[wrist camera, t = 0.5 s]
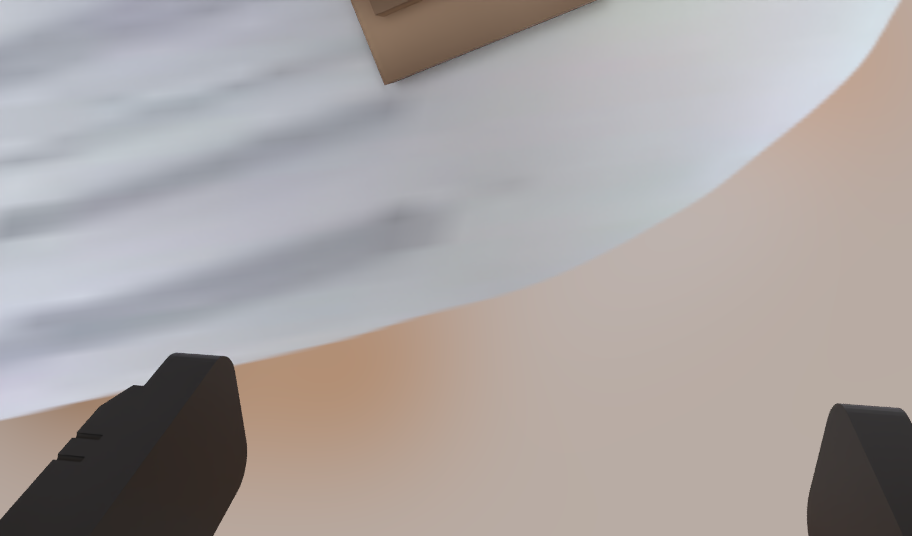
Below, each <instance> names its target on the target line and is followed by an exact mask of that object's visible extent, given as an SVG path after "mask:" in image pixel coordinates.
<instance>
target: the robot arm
mask: <svg viewBox="0 0 912 536" xmlns="http://www.w3.org/2000/svg"><path fill="white" fill-rule="evenodd" d="M246 459H247V443H246V437H245V430H244V425H243V418H242V412H241V405H240V399H239V393H238V387H237V381H236V376H235V370H234V366H233V363H232V361H231V360H230V359H229V358H228V357H226V356H213V355H200V354H186V353H173V354H171V355H170V356H169V357H168V358H167V359H166V360H165V361H164V362H163V364H162V365H161V366H160V367H159V368H158V370H157V371H156V372H155V373H154V374H153V376H152V377H151V378H150V379H149V380H148V382H147V383H146V384H145V385H144V386H137V385H133V386H131V387H130V388H128V389H126V390H125V391H123V392H122V393H120V394H119V395H117V396H115V397H114V398H112V399H111V400H109V401H108V402H106V403H104V404H103V405H101V406H100V407H99V408H98V409H97V410H96V411H95V412H94V414H93V415H92V416H91V417H90V418H89V419H88V420H87V421H86V423H85V424H84V425H83V426H82V427H81V429H80V430H79V431H78V432H77V436H76V438H72V439H71V440H70V441H69V442H68V443H67V444H66V445H65V447H64V448H63V449H62V450H61V451H60V452H59V453H58V458H57V460H52V462H50V464H49V465H48V466H47V467H46V468H45V469H44V471H43V472H42V473H41V474H40V475H39V476H38V477H37V478H36V480H35V481H34V482H33V483H32V484H31V485H30V486H29V488H28V489H27V490H26V491H25V492H24V493H23V494H22V496H21V497H20V498H19V499H18V500H17V501H16V502H15V504H14V505H13V506H12V507H11V508H10V509H9V510H8V512H7V513H6V514H5V515H4V516H3V517H2V518H1V519H0V536H213V535H214V533H215V531H216V530H217V528H218V526H219V524H220V522H221V520H222V518H223V517H224V515H225V513H226V511H227V509H228V508H229V506H230V504H231V502H232V500H233V499H234V497H235V495H236V493H237V491H238V489H239V487H240V485H241V482H242V479H243V476H244V472H245V467H246ZM807 525H808V535H809V536H912V423H911V421H910V419H909V417H908V416H907V414H906V413H905V412H904V411H903V410H902V409H900V408H891V407H878V406H864V405H850V404H835V405H834V406H833V407H832V409H831V411H830V413H829V416H828V419H827V423H826V427H825V431H824V436H823V440H822V443H821V448H820V452H819V456H818V460H817V464H816V468H815V473H814V476H813V480H812V484H811V488H810V492H809V497H808V507H807Z"/></svg>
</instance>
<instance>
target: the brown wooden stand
mask: <svg viewBox="0 0 912 536" xmlns="http://www.w3.org/2000/svg"><path fill="white" fill-rule="evenodd" d="M594 1H596V0H351V3H352V5H353V8H354V10H355V12H356V15H357V17H358V20H359V22H360V25H361V27H362V30H363V32H364V35H365V37H366V40H367V42H368V45H369V47H370V50H371V52H372V55H373V57H374V60H375V62H376V65H377V67H378V70H379V72H380V75H381V77H382V80H383V82H384V85H387V84H390V83H394V82H397V81H399V80H402V79H404V78H406V77H409V76H411V75H414V74H416V73H419V72H421V71H424V70H426V69H429V68H431V67H434V66H436V65H439V64H441V63H443V62H446V61H448V60H451V59H453V58H456V57H458V56H461V55H463V54H466V53H468V52H471V51H473V50H475V49H478V48H480V47H483V46H485V45H488V44H490V43H493V42H495V41H498V40H500V39H503V38H505V37H508V36H510V35H512V34H515V33H517V32H520V31H522V30H525V29H527V28H530V27H532V26H535V25H537V24H540V23H542V22H544V21H547V20H549V19H552V18H554V17H557V16H559V15H562V14H564V13H567V12H569V11H572V10H574V9H577V8H579V7H581V6H584V5H586V4H589V3H591V2H594Z"/></svg>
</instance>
